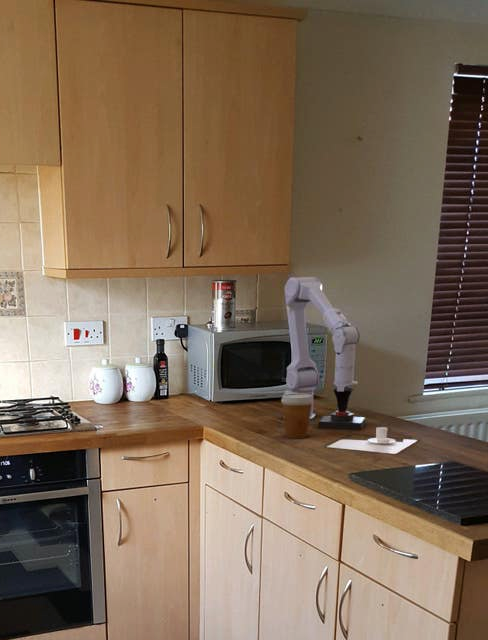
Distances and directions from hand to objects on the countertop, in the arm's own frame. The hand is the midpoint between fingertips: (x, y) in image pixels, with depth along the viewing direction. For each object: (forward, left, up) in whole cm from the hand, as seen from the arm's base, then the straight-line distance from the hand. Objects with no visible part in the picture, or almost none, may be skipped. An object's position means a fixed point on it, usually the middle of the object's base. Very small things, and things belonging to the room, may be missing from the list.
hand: (342, 411), depth 272 cm
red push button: (0, 0, -2) cm, 2 cm away
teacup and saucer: (+12, -24, -5) cm, 27 cm away
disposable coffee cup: (-11, -18, -5) cm, 22 cm away
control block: (0, 0, -5) cm, 5 cm away
